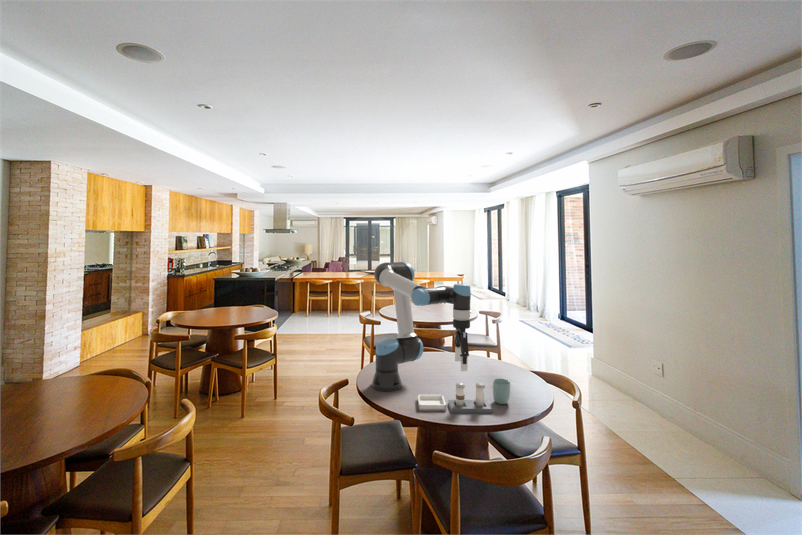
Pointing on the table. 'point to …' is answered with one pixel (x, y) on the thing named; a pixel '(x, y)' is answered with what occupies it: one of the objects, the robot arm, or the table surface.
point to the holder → (470, 407)
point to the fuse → (480, 394)
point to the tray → (431, 402)
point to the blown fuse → (460, 394)
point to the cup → (501, 391)
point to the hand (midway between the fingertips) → (460, 365)
